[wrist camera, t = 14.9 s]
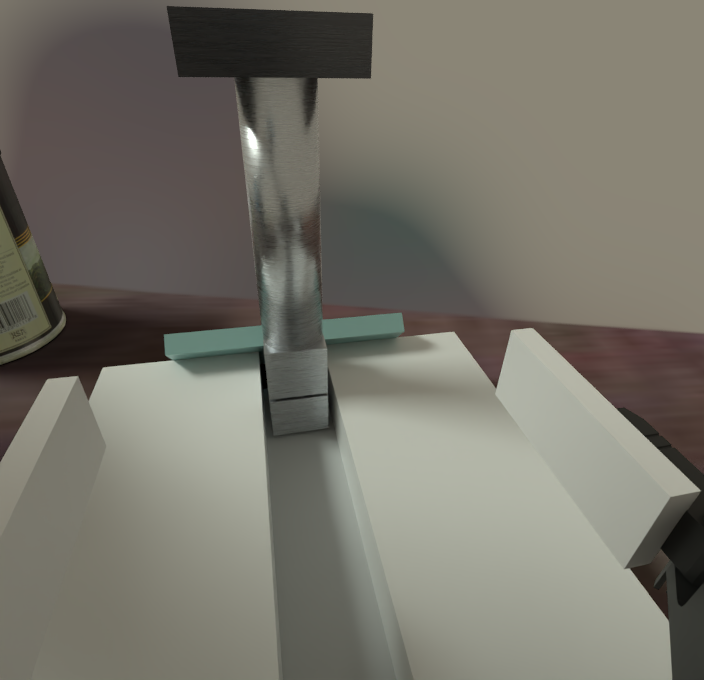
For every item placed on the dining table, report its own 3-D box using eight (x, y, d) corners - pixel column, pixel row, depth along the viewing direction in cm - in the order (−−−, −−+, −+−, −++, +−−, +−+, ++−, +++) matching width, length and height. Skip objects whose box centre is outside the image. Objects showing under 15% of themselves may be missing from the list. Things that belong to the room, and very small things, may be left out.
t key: (239, 440, 25) (164, 5, 14) (239, 402, 28) (176, 11, 17) (360, 423, 26) (375, 12, 16) (349, 389, 29) (356, 17, 18)
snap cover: (165, 355, 25) (163, 334, 25) (191, 371, 33) (190, 355, 33) (404, 331, 27) (401, 312, 28) (376, 352, 35) (374, 337, 35)
